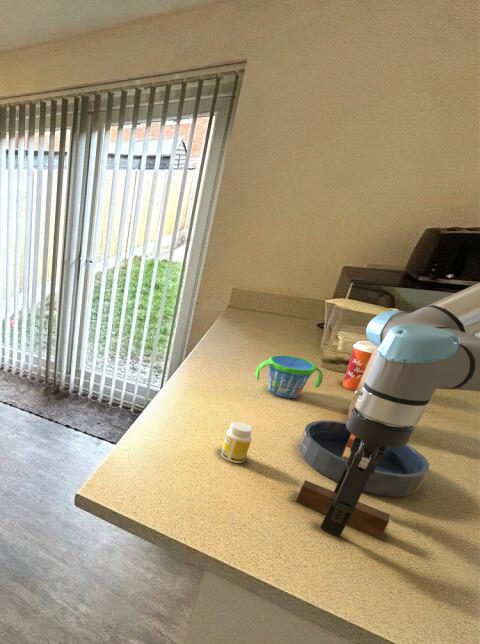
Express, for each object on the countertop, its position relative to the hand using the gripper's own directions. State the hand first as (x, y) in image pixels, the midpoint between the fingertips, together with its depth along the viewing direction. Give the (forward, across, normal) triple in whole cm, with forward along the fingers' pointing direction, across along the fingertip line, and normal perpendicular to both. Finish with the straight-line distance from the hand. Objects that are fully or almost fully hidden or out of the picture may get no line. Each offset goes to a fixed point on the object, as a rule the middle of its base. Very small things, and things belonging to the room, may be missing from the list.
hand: (335, 514), depth 74 cm
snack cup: (+1, -49, -19) cm, 53 cm away
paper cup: (0, -69, -5) cm, 69 cm away
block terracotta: (0, -26, 0) cm, 26 cm away
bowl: (0, -21, 0) cm, 21 cm away
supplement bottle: (0, -5, -19) cm, 19 cm away
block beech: (0, -16, 0) cm, 17 cm away
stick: (0, 0, 0) cm, 0 cm away
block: (0, -46, +1) cm, 46 cm away
